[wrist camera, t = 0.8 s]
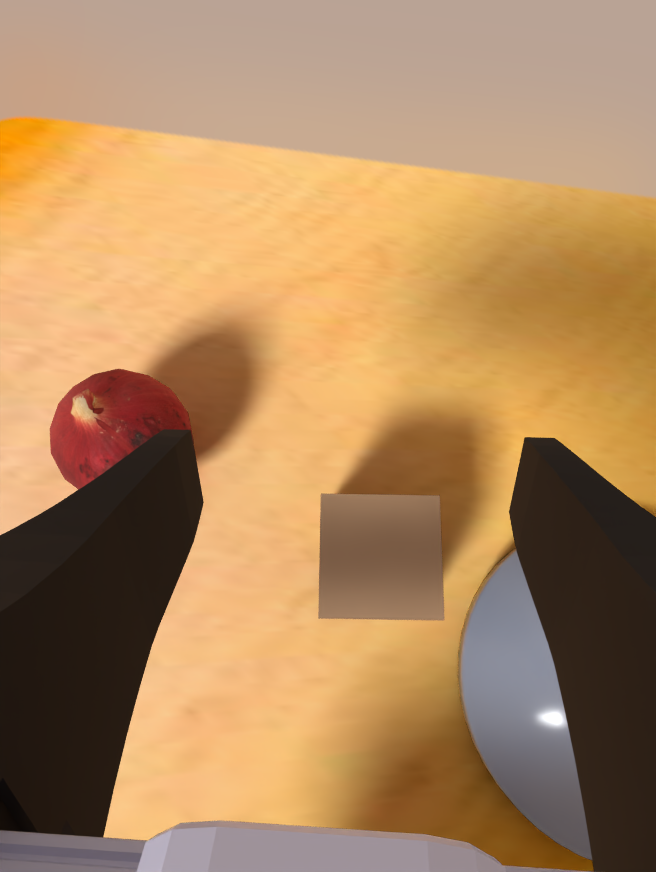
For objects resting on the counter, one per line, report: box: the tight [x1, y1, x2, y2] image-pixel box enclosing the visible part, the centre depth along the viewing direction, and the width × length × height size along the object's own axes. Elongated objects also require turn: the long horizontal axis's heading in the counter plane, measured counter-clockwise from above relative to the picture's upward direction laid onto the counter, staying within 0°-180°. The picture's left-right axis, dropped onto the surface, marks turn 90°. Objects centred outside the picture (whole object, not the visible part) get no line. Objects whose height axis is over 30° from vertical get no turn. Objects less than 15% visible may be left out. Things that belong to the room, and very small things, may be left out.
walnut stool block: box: [319, 494, 444, 620], centre depth 24 cm, size 5×5×6 cm
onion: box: [50, 369, 194, 489], centre depth 24 cm, size 6×6×8 cm
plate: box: [458, 548, 592, 860], centre depth 25 cm, size 14×14×1 cm
